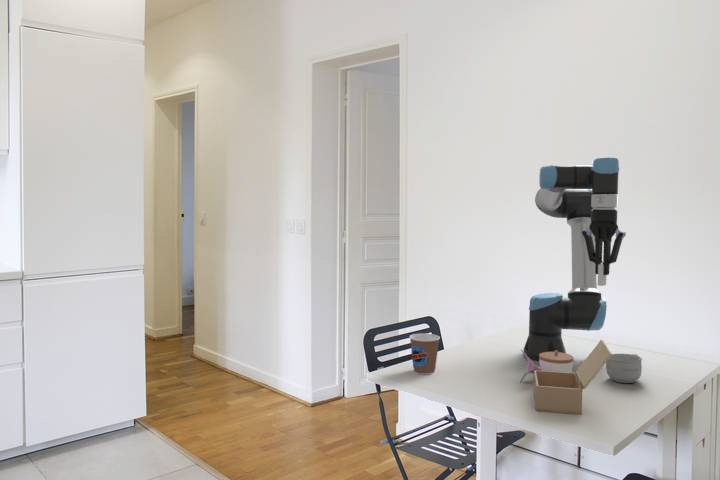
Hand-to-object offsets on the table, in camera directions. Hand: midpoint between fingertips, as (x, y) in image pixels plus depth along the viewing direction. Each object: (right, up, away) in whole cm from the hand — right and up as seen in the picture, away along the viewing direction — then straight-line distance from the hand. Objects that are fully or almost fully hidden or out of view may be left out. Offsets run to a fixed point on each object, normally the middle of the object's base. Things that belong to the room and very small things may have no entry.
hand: (601, 285), depth 189 cm
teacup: (+12, -32, +10) cm, 35 cm away
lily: (-19, -32, +8) cm, 38 cm away
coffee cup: (-53, -31, +19) cm, 64 cm away
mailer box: (-18, -33, -13) cm, 40 cm away
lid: (-9, -21, -16) cm, 28 cm away
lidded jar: (-11, -32, +11) cm, 35 cm away
